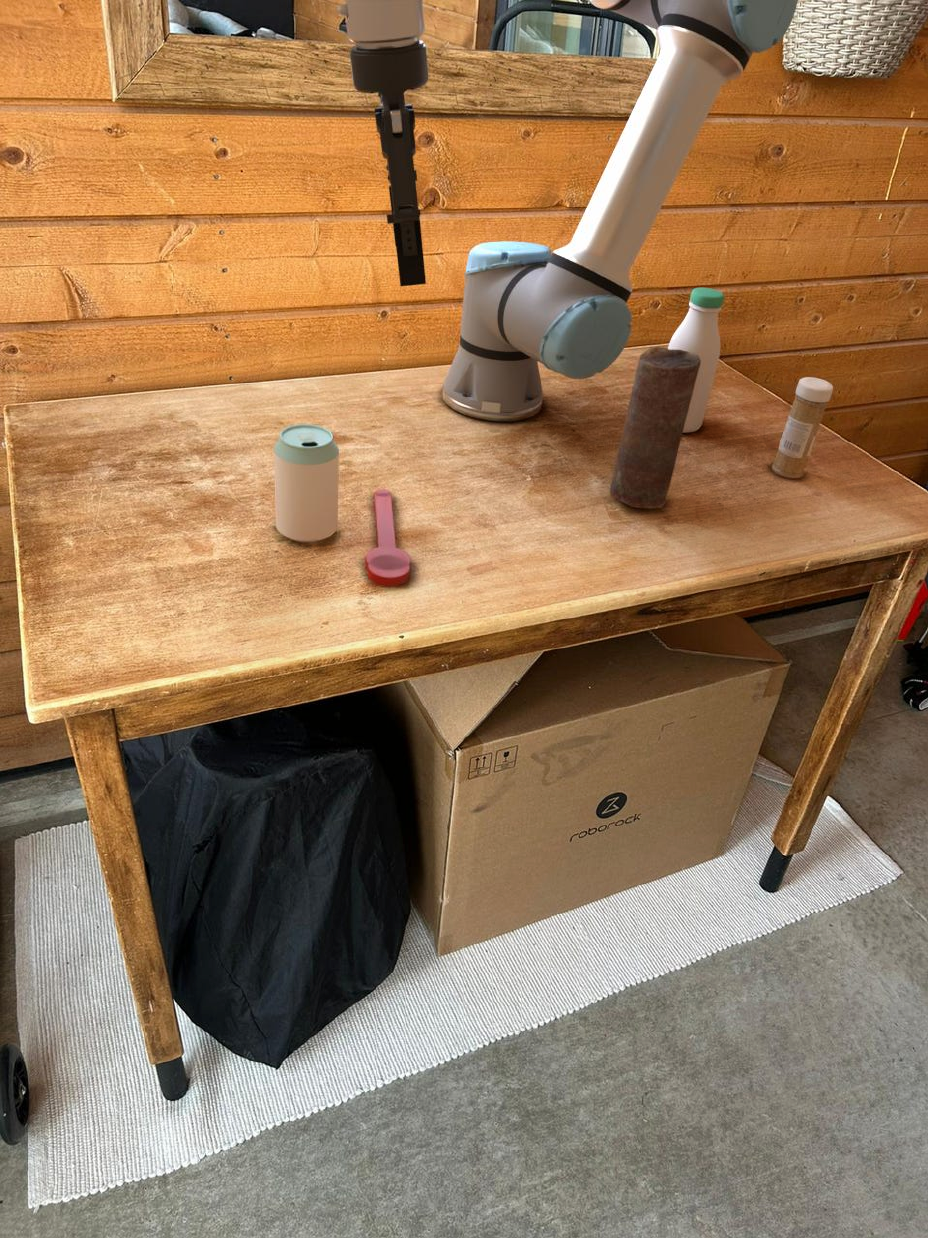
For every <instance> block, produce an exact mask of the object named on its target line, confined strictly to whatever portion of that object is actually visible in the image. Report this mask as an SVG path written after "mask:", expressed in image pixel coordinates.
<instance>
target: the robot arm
mask: <svg viewBox="0 0 928 1238" xmlns="http://www.w3.org/2000/svg"><path fill="white" fill-rule="evenodd" d="M343 1H344V2H345V3H343V4H342V3H341V4H339V5H338V6H337V14H338V16H339V17H343V18H344V17H347V19H346V20H345V24H346V33H347V39H348V40H349V41H351V42H352V43H354V45H353V46H352V47H351V48H350V50H349V60H350V69H351V77H352V84H353V88H354V89H355V90H356V91H357V92H359V93H363V94H368V95H371V94H377V96H378V97H379V100H380V101H379V102H380V107H374V108H373V109H374V117H375V127H376V131H377V133H378V134H379V139H380V140H379V141H380V147H381V155H382V158H384V159H386V165H385V167H386V168H385V169H386V171H387V181H388V182H389V184H388V192H389V193H388V194H389V200H390V211H391V213H390V214H386V221H387V222H386V223H387V225H392V227H393V228H392V229H393V234H394V247H395V248H396V249H395V250H396V259H397V267H398V276H399V284H400V287H409V286H410V287H411V286H418V285H419V286H420V285H426V284H427V281H426V268H425V259H424V249H423V247H424V246H423V237H422V226H421V218H420V217H421V214H422V213H421V210H420V208H419V200H418V191H417V183H416V182H417V181H418V175H417V170H416V169H415V164H414V156H416V151H417V150H416V138H415V129H416V118H415V115H416V114H415V109H414V107H413V104H406V98H405V92H407V91H409V90H410V91H411V90H412V91H413V90H417V89H420V88H422V87H424V86H425V85H427V83H428V81H429V70H428V69H429V67H428V56H427V55H428V53H427V45H426V44H425V43H424V41H423V40H421V39H420V38H421V37H422V36H424V34H425V32H426V25H425V23H426V22H425V12H424V0H343ZM588 1H589V2H590V3H591V5H593V6H594V7H596V8H598V9H601V10H606V11H610V12H613V13H616V14H617V15H618V14H619V15H621V16H624V17H626V18H627V19H630V20H633V21H635V22H638V23H639V24H642V25H644V26H646V27H649V28H652V29H654V30H656V32H655V33H656V34H655V35H656V38H657V42H658V46H659V54H658V56H657V59H656V61H655V62H654V64H653V66H652V69H651V71H650V74H649V76H648V78H647V80H646V82H645V84H644V86H643V88H642V90H641V93H640V94H639V97H638V98H637V101H636V103H635V105H634V107H633V109H632V112H631V114H630V116H629V118H628V120H627V122H626V124H625V126H624V128H623V131H622V132H621V135H620V137H619V138H618V140H617V143H616V145H615V147H614V150H613V152H612V154H611V156H610V158H609V160H608V162H607V164H606V167H605V169H604V170H603V173H602V175H601V176H600V179H599V181H598V183H597V186H596V187H595V190H594V191H593V193H592V196H591V198H590V200H589V202H588V204H587V206H586V208H585V211H584V212H583V215H582V217H581V219H580V221H579V223H578V224H577V225H578V226H577V227H576V230H575V232H574V234H573V236H572V238H571V240H570V242H569V243H568V244H566V245H563V246H562V247H558V248H556V249H553V251H552V249H551V248H550V247H548V246H546V245H543V244H540V243H533V242H527V241H526V242H525V241H490V242H489V241H488V242H482V243H479V244H477V245H475V246H474V247H473V248H471V249H470V251H469V254H468V257H467V263H466V268H465V271H464V276H465V277H464V288H463V298H462V299H463V300H462V310H461V311H462V312H461V324H460V335H459V343H458V349H457V351H456V353H455V355H454V358H453V360H452V362H451V365H450V368H449V370H448V372H447V374H446V377H445V379H444V383H443V386H442V400H443V401H444V402H445V404H446V405H447V406H448V407H449V408H450V409H452V410H454V411H455V412H457V413H460V414H462V415H465V416H468V417H471V418H474V419H479V420H484V421H490V422H491V421H492V422H515V421H522V420H526V419H530V418H531V417H534V416H535V415H538V413H539V412H540V411H541V409H542V405H543V398H544V393H543V392H544V391H543V386H542V380H541V375H540V369H539V363H540V364H541V365H543V366H544V367H545V368H546V369H547V370H549V371H552V372H554V373H557V374H560V375H562V376H565V377H566V378H568V379H573V380H584V379H588V378H589V379H590V378H591V377H593V376H595V375H596V374H598V373H599V374H600V373H602V372H604V371H605V370H607V369H608V368H609V367H610V366H611V365H613V363H615V361H616V360H617V359H618V357H620V355H621V354H622V352H623V351H624V349H625V347H626V345H627V344H628V342H629V339H630V336H631V332H632V326H631V323H632V320H633V318H632V316H633V315H632V312H631V310H630V308H629V307H628V304H627V303H628V301H629V299H630V297H631V295H632V293H633V290H634V289H633V286H632V283H631V278H630V271H631V269H632V267H633V265H634V263H635V261H636V259H637V257H638V255H639V253H640V251H641V249H642V248H643V245H644V243H645V242H646V239H647V237H648V235H649V234H650V232H651V229H652V227H653V225H654V223H655V221H656V219H657V217H658V215H659V213H660V211H661V209H662V207H663V206H664V204H665V201H666V199H667V197H668V196H669V192H670V191H671V189H672V187H673V185H674V183H675V181H676V179H677V178H678V175H679V173H680V171H681V169H682V167H683V165H684V163H685V161H686V159H687V157H688V155H689V153H690V151H691V149H692V147H693V146H694V143H695V141H696V139H697V137H698V135H699V134H700V131H701V129H702V127H703V125H704V123H705V121H706V119H707V118H708V115H709V113H710V111H711V109H712V107H713V105H714V103H715V101H716V99H717V97H718V96H719V93H720V92H721V89H722V87H723V86H724V85H725V84H727V83H730V82H732V81H734V80H736V79H738V78H741V77H742V75H743V74H744V71H745V70H746V67H747V65H748V63H749V62H750V59H751V57H752V56H753V53H755V54H761V53H763V52H766V51H769V50H770V49H772V48H773V47H775V46H777V44H779V42H781V40H782V39H783V38H784V37H785V35H786V33H787V32H788V30H789V28H790V26H791V24H792V21H793V18H794V16H795V13H796V10H797V6H798V1H799V0H588Z"/></svg>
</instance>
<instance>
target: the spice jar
mask: <svg viewBox="0 0 928 1238" xmlns="http://www.w3.org/2000/svg"><path fill="white" fill-rule="evenodd" d="M833 391H834V386H833V384H832V383H831V382H829V381H827V380H825V379H823V378H819V377H818V378H817V377H813V376H806V377H802V378H800V379H799V381H798V383H797V386H796V389H795V396H794V399H793V402H792V406H791V408H790V412H789V414H788V416H787V419H786V422H785V426H784V428H783V431H782V435H781V438H780V441H779V444H778V449H777V452H776V455H775V458H774V462H773V463H772V465H771V469H772V471H773V472H774V473H775V474H777V475H778V476H780V477H783V478H787V479H800V478H802V477H803V476H804V474H805V469H806V466H807V464H808V463H807V462H808V460H809V457H810V456H811V453H812V451H813V447H814V444H815V441H816V439H817V434H818V432H819V428H820V426H821V422H822V419H823V416H824V414H825V410H826V408H827V405H828V403H829V401H830V400H831V397H832V394H833Z"/></svg>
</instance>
